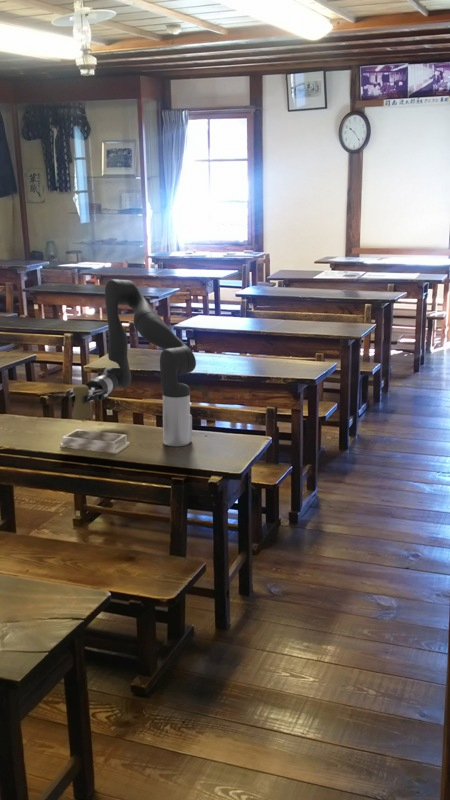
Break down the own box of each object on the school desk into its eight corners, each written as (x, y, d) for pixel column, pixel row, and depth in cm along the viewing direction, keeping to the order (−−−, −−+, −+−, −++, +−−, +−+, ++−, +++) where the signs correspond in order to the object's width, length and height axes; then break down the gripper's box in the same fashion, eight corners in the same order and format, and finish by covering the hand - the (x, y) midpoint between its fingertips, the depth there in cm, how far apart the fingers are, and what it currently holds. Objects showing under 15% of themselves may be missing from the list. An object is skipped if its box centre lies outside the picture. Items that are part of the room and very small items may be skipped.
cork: (89, 419, 264) (88, 387, 261) (71, 419, 264) (69, 387, 261) (92, 414, 270) (91, 383, 267) (74, 414, 270) (73, 382, 267)
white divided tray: (60, 446, 266) (59, 436, 265) (74, 438, 275) (74, 428, 275) (116, 453, 260) (116, 443, 259) (129, 444, 269) (129, 435, 268)
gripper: (79, 376, 279) (57, 387, 263) (117, 379, 276) (96, 391, 260) (80, 396, 281) (58, 409, 265) (117, 399, 278) (97, 412, 262)
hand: (77, 400), depth 263 cm, fingers closed on cork, 4 cm apart
